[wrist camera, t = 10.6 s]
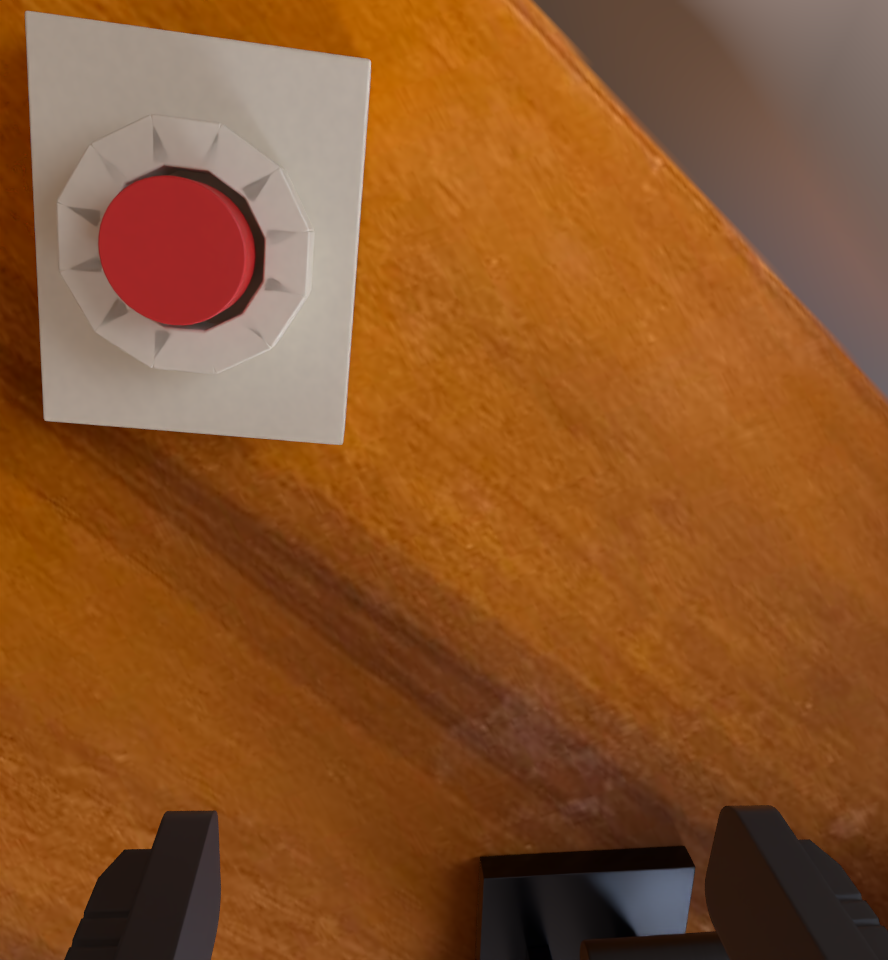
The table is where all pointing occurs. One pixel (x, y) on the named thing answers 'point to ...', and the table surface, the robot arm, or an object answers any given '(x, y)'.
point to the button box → (233, 171)
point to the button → (176, 249)
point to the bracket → (579, 900)
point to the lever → (656, 947)
